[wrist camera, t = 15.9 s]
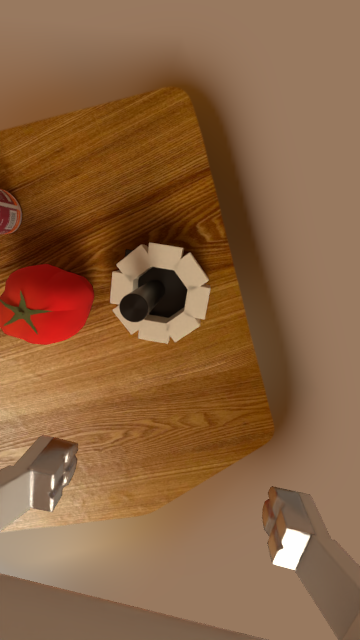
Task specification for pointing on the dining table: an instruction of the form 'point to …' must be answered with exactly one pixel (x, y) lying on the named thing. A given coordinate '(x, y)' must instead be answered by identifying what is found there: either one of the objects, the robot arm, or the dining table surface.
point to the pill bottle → (9, 213)
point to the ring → (186, 271)
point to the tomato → (45, 304)
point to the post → (154, 295)
